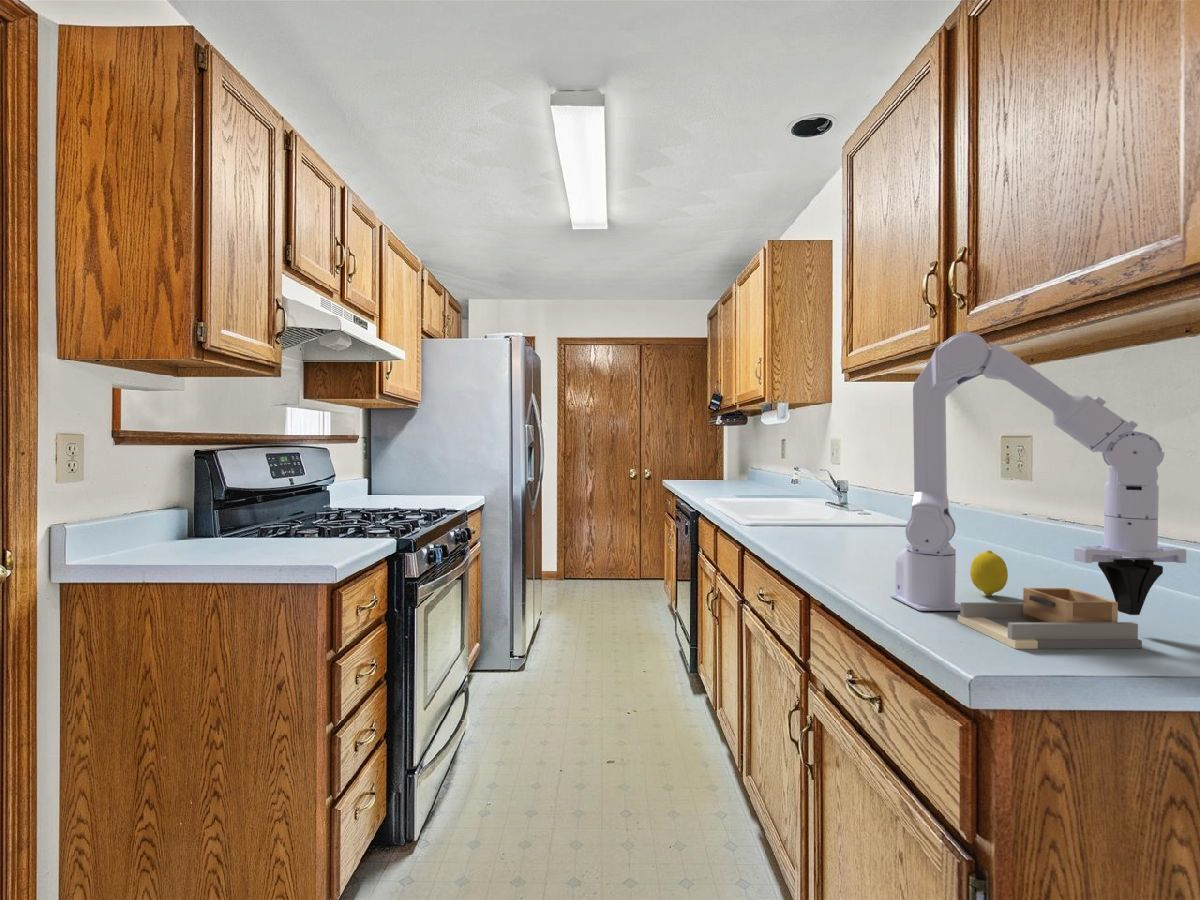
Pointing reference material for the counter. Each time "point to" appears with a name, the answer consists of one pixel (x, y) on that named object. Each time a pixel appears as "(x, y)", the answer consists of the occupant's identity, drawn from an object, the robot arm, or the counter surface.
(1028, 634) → the bay
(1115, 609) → the crate
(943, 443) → the robot arm
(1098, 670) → the counter surface
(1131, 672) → the counter surface
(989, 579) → the lemon
